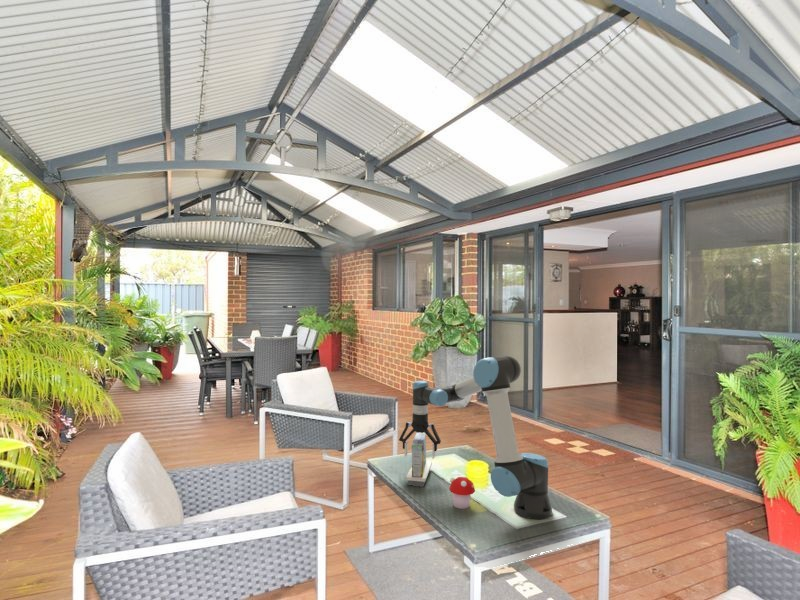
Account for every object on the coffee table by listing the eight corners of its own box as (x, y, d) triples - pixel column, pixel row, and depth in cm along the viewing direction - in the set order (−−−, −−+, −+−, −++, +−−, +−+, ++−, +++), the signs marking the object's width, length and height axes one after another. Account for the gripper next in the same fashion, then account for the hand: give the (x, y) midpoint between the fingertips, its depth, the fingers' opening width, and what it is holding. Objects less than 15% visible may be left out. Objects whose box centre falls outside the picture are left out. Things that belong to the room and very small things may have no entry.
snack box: (415, 461, 246) (415, 432, 246) (426, 462, 245) (426, 432, 245) (410, 477, 225) (411, 444, 225) (422, 477, 224) (423, 445, 224)
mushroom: (450, 499, 211) (450, 471, 211) (475, 501, 209) (475, 473, 209) (447, 509, 200) (448, 480, 200) (474, 512, 198) (475, 482, 198)
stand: (424, 487, 223) (425, 479, 223) (405, 486, 224) (405, 477, 224) (431, 469, 246) (431, 461, 246) (414, 468, 248) (414, 460, 248)
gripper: (393, 413, 234) (392, 457, 234) (445, 416, 229) (444, 461, 229) (396, 409, 241) (396, 452, 241) (446, 412, 236) (446, 456, 236)
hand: (419, 456), depth 235 cm, fingers open, 13 cm apart
